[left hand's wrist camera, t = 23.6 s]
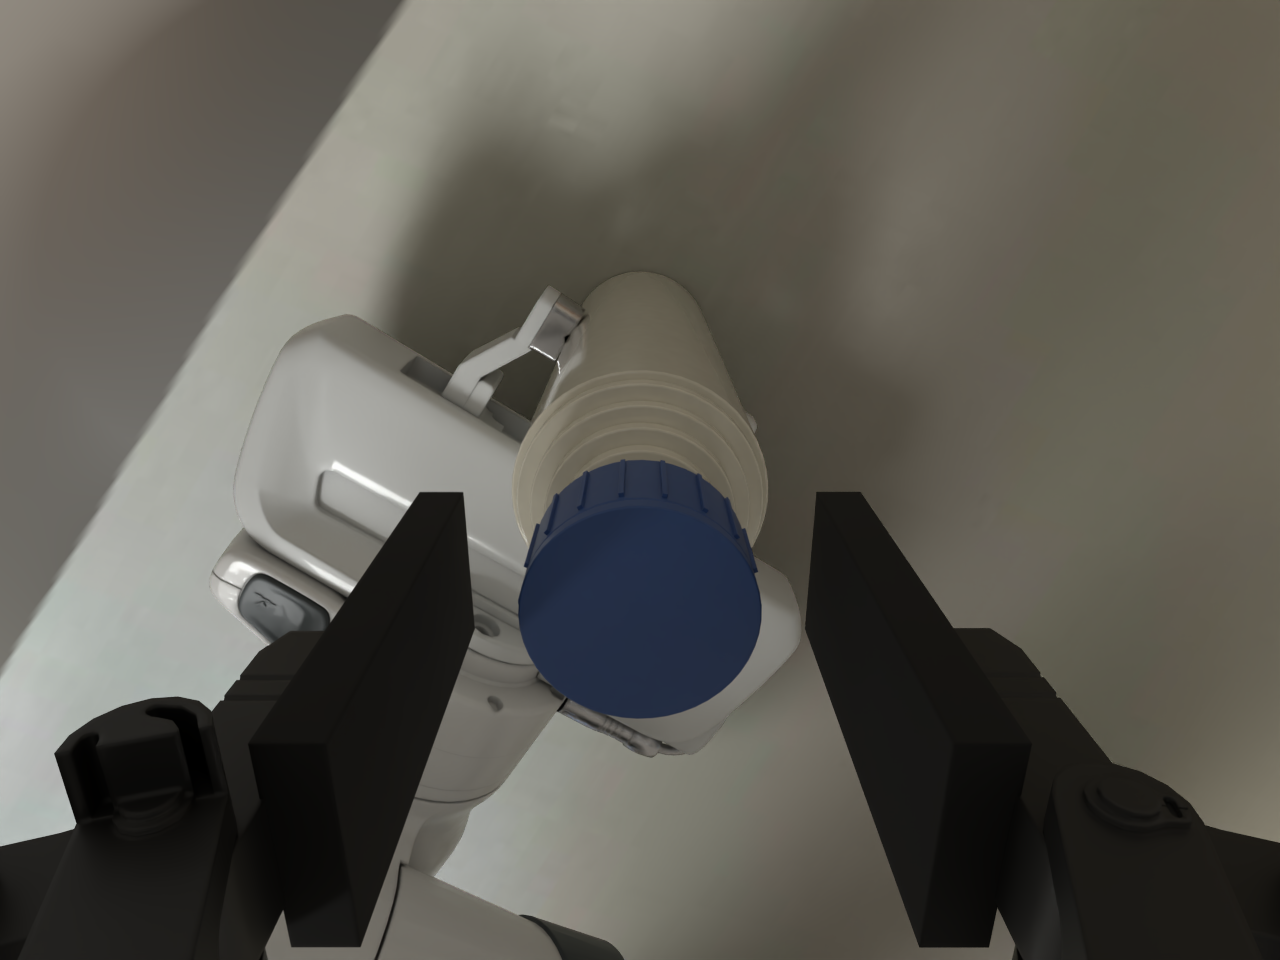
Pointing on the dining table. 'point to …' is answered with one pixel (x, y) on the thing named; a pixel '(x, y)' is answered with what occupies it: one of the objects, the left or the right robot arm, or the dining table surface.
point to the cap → (640, 591)
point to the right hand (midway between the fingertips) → (653, 354)
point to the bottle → (640, 402)
